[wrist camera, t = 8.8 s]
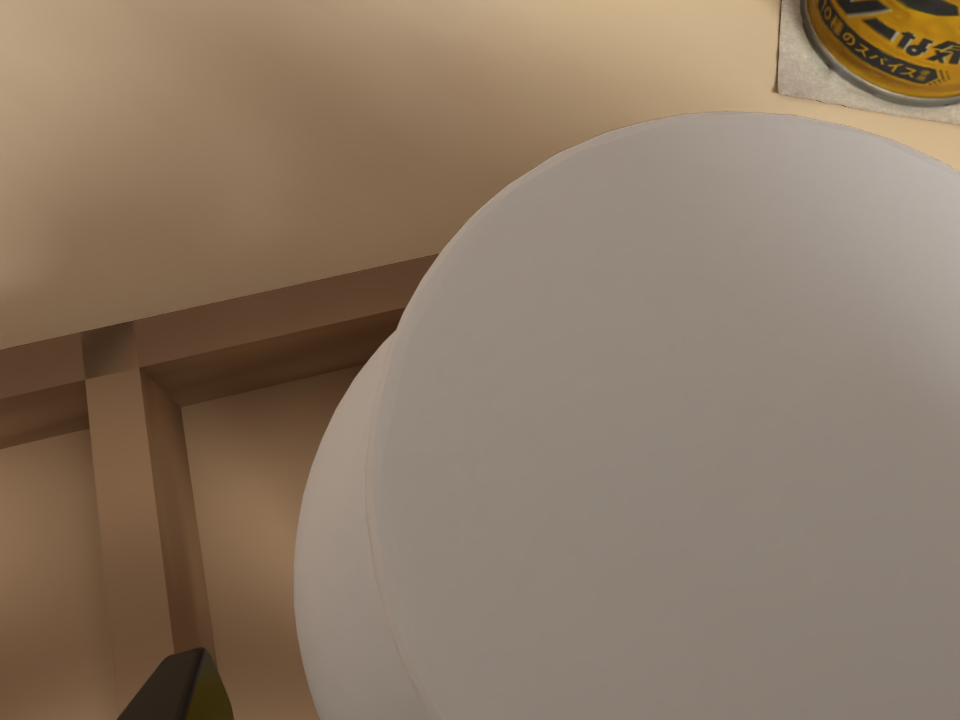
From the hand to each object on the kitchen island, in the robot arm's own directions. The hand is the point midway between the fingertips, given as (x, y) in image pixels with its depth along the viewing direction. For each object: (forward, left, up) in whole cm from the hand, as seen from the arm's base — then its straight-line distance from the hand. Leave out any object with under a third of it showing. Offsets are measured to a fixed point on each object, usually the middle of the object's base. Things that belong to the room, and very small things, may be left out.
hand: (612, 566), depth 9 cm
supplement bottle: (0, 0, -8) cm, 8 cm away
